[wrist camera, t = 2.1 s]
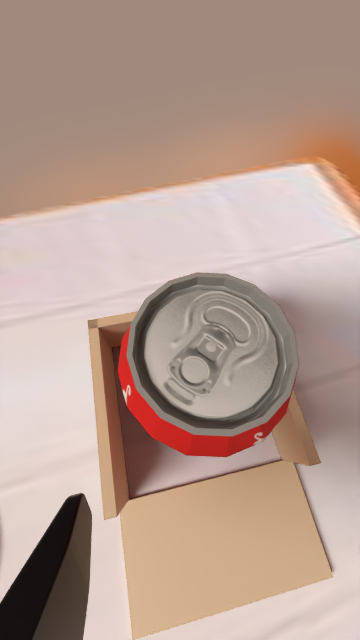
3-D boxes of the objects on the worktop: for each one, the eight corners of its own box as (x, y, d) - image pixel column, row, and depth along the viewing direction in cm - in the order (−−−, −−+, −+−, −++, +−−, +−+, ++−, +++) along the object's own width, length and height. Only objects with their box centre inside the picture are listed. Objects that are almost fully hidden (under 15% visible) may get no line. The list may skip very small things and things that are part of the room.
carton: (330, 574, 15) (380, 617, 11) (133, 636, 14) (119, 706, 10) (241, 315, 22) (254, 290, 18) (103, 341, 20) (87, 320, 17)
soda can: (180, 341, 21) (187, 230, 10) (250, 389, 19) (351, 323, 8) (127, 409, 18) (60, 365, 8) (201, 470, 17) (251, 523, 6)
